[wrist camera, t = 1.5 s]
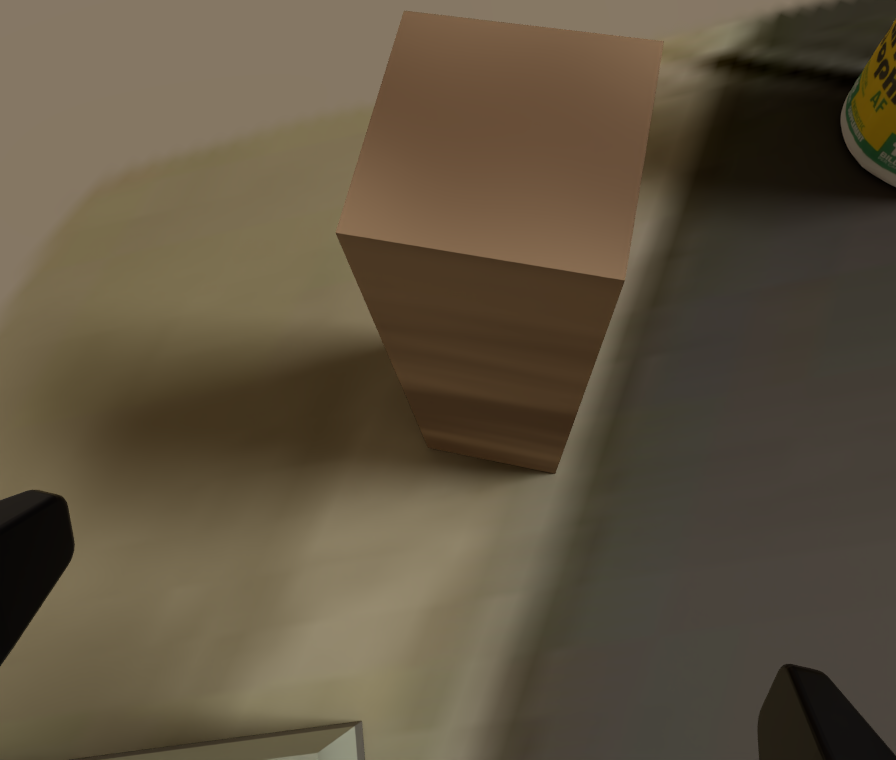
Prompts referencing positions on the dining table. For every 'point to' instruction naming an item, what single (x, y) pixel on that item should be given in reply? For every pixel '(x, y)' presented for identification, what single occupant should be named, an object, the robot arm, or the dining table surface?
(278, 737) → the socket block
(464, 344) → the walnut peg
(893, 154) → the supplement bottle
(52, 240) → the dining table surface
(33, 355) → the dining table surface
